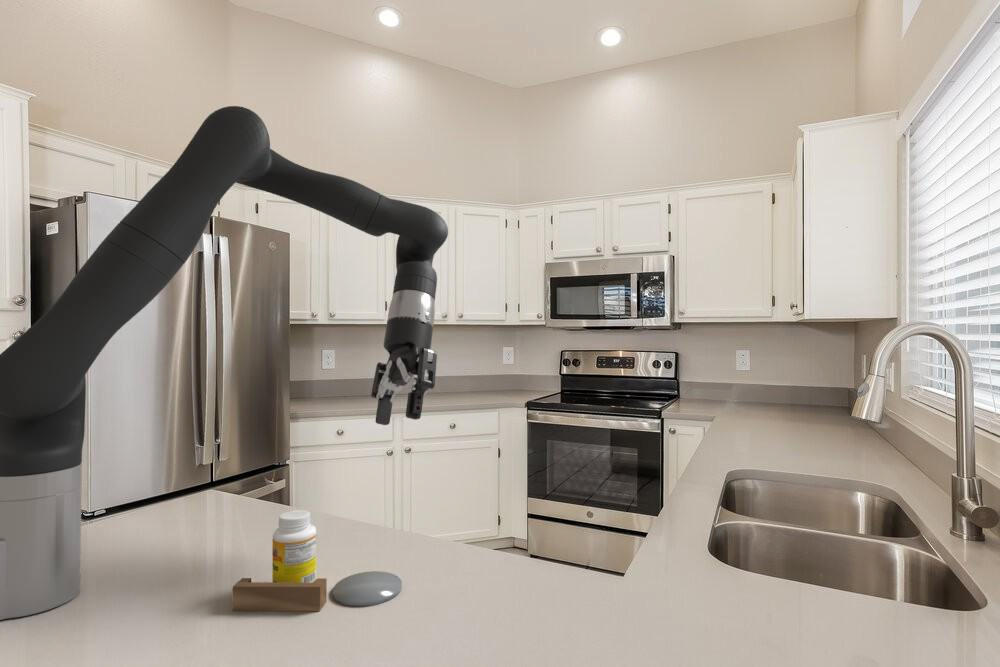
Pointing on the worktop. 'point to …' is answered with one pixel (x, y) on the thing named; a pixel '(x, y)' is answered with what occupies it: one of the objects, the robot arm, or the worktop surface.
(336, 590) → the smooth stone
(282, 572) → the supplement bottle
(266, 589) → the cradle
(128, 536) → the worktop surface
